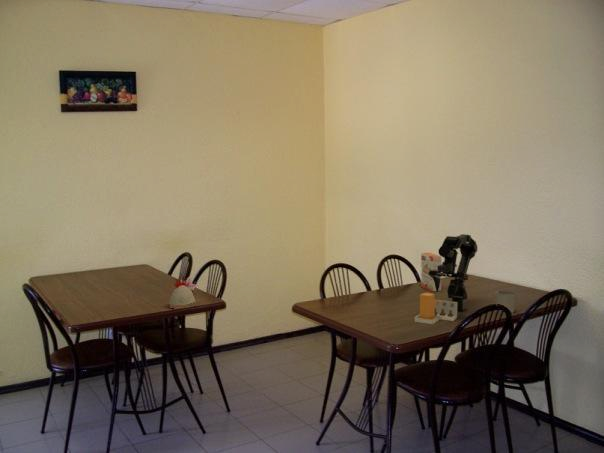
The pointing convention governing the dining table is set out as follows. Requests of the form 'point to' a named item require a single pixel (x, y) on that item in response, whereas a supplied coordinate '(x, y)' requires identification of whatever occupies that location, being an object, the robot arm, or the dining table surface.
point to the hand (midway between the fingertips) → (445, 292)
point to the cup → (506, 299)
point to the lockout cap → (427, 305)
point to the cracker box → (427, 264)
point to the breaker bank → (446, 310)
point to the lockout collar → (428, 321)
